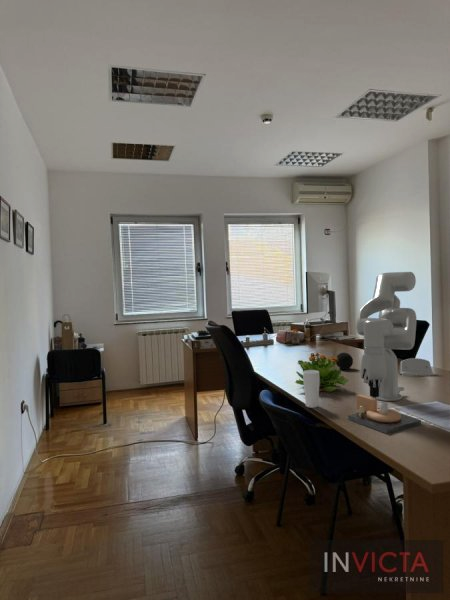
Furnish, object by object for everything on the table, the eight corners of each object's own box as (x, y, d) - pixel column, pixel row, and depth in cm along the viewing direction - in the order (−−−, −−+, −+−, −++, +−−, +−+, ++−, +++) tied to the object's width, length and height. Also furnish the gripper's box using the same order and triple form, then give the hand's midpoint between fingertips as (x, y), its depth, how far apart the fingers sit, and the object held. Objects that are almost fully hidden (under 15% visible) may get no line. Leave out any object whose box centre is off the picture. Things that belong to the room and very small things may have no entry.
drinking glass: (318, 409, 167) (318, 373, 167) (302, 408, 170) (301, 372, 169) (321, 404, 173) (320, 370, 173) (305, 403, 176) (304, 369, 175)
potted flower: (304, 397, 185) (303, 359, 184) (283, 385, 208) (282, 351, 207) (352, 392, 191) (351, 355, 191) (326, 380, 214) (326, 348, 214)
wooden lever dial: (369, 405, 164) (368, 392, 164) (408, 418, 148) (408, 403, 148) (347, 410, 159) (347, 397, 158) (385, 424, 142) (385, 409, 142)
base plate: (381, 411, 163) (381, 397, 162) (421, 424, 147) (421, 409, 146) (348, 419, 154) (347, 405, 154) (386, 434, 138) (386, 418, 138)
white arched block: (401, 375, 220) (399, 357, 223) (399, 377, 224) (397, 359, 227) (434, 375, 218) (431, 357, 221) (431, 377, 222) (428, 358, 225)
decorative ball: (352, 367, 245) (352, 351, 245) (353, 371, 235) (353, 354, 235) (335, 367, 247) (335, 351, 247) (335, 370, 238) (335, 353, 237)
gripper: (379, 348, 167) (380, 392, 167) (353, 351, 160) (353, 397, 161) (394, 350, 161) (395, 396, 161) (367, 353, 154) (368, 401, 154)
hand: (374, 396), depth 161 cm, fingers closed
